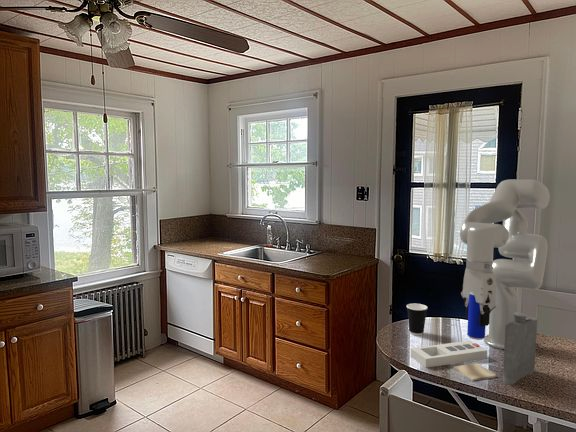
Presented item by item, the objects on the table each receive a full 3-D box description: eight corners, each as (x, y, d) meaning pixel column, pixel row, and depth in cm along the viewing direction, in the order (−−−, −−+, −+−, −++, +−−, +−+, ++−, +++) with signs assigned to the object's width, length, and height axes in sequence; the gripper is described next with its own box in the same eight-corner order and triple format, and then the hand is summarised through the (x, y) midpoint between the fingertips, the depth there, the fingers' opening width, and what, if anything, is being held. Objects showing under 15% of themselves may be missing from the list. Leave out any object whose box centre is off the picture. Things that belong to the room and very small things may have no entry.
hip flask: (511, 386, 132) (514, 321, 130) (497, 381, 135) (500, 317, 133) (536, 371, 141) (539, 310, 139) (523, 367, 144) (526, 307, 142)
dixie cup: (403, 329, 178) (404, 303, 177) (423, 330, 178) (424, 303, 177) (408, 337, 170) (409, 309, 169) (429, 337, 170) (430, 309, 169)
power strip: (469, 348, 159) (469, 339, 159) (486, 358, 151) (487, 348, 150) (410, 356, 153) (410, 346, 152) (425, 367, 144) (425, 357, 144)
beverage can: (486, 340, 136) (489, 293, 135) (468, 339, 137) (471, 292, 136) (482, 335, 141) (485, 289, 140) (465, 333, 142) (467, 288, 141)
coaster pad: (477, 364, 146) (477, 363, 146) (496, 377, 138) (497, 375, 137) (453, 368, 144) (453, 366, 144) (472, 380, 135) (472, 379, 135)
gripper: (510, 270, 130) (507, 330, 132) (470, 259, 146) (468, 313, 148) (488, 272, 128) (486, 333, 130) (451, 261, 144) (449, 315, 146)
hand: (476, 321), depth 139 cm, fingers closed on beverage can, 5 cm apart
